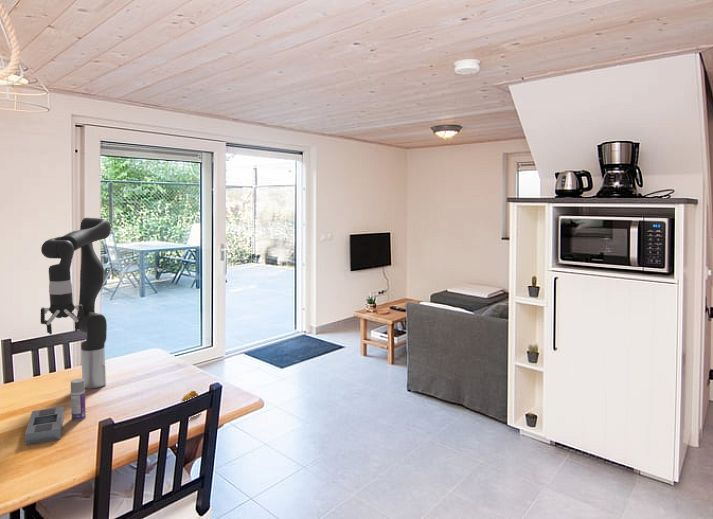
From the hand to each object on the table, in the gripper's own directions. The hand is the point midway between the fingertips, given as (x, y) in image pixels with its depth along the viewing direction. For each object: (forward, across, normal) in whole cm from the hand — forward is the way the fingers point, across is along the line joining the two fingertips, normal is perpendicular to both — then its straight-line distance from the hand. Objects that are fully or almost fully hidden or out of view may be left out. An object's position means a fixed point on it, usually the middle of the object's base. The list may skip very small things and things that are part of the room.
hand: (63, 332), depth 187 cm
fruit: (+32, -43, +21) cm, 58 cm away
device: (+31, +6, +16) cm, 36 cm away
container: (+32, -4, +10) cm, 34 cm away
